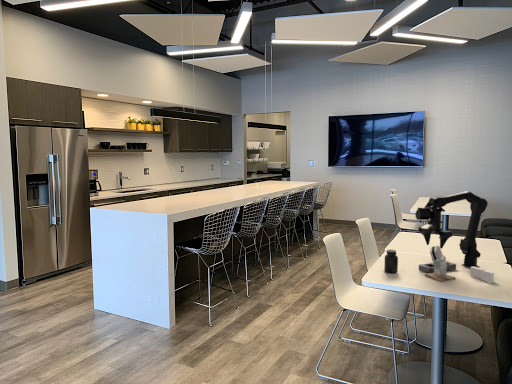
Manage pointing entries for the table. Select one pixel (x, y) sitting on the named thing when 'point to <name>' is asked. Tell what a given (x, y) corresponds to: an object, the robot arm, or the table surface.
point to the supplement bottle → (391, 262)
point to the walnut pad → (440, 277)
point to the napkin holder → (482, 274)
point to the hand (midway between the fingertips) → (434, 246)
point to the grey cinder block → (430, 267)
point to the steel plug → (440, 268)
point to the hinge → (436, 254)
